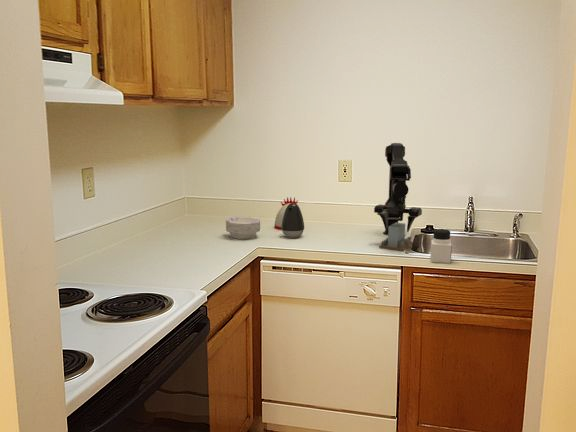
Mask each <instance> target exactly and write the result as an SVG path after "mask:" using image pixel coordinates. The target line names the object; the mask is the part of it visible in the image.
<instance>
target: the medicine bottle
mask: <svg viewBox="0 0 576 432" xmlns="http://www.w3.org/2000/svg"><path fill="white" fill-rule="evenodd" d="M432 237H433V239H431V241H430V261H431V263H437V264H438V263H439V264H451V263H452V249H453V248H452V246H453V245H452V242H451V231H450V229H447V228H435V229H434V230H433V236H432Z"/></svg>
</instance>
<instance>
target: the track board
mask: <svg viewBox="0 0 576 432" xmlns="http://www.w3.org/2000/svg"><path fill="white" fill-rule="evenodd" d="M412 245H414V241H412V237H411V236H408V237H405V239H404V240H403V241H401V242H400V243H398V247H395V246H388V237H387V238H385V239H382V241H381V244H380V245H378V248H379V249H382V250H392V251H398V252H404V251H406V250H407V249H408V248H409V247H411V246H412Z"/></svg>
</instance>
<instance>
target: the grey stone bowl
mask: <svg viewBox="0 0 576 432" xmlns="http://www.w3.org/2000/svg"><path fill="white" fill-rule="evenodd" d="M225 231H226V232H228V233H230V236H231V237H232V238H234V239H239V240H248V239H252V238H254V237H255V236H256V235H257V233H259V232H261V219H259V218H258V217H252V216H251V217H250V216H232V217H229V218H227V219H226V220H225Z"/></svg>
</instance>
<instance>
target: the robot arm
mask: <svg viewBox="0 0 576 432" xmlns="http://www.w3.org/2000/svg"><path fill="white" fill-rule="evenodd" d="M384 152H385V153H384V158H386V162H387V164H388V166H389V177H388V198H387V200H386V201H385V203H384V204H377V205H375V206H374V208H373V209H374V211H373V213H375V214H377V216H380V218H381V220H382V222H383V226H384V229H385V230H384V231H383V232H382V234H384V235H385V234H386V235H388V228H389V226H391V225H393V224H394V223H399V222H402V221H403V219H404V214H408V216H407V226H406V232H407V233H409V231H410V229H411V227H412V224H413V223H414V220H415V219H416V218H418V217H420V216H423V215H422V213H423V211H422V210H423V209H422V208H421V207H414V206H413V207H409V208H406V207H407V205H406V198H407V195H408V193H409V187H408V185H407V181H408V182H409V181H411V178H412V172H411V171H412V170H411V168H410V167H411V166H410V165H409V164H408V161H407V160H405V159H404V157H405V155H406V146H404V144H403V143H401V142H392V143H390V144H389V145H387V146H386V147H385V150H384Z"/></svg>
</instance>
